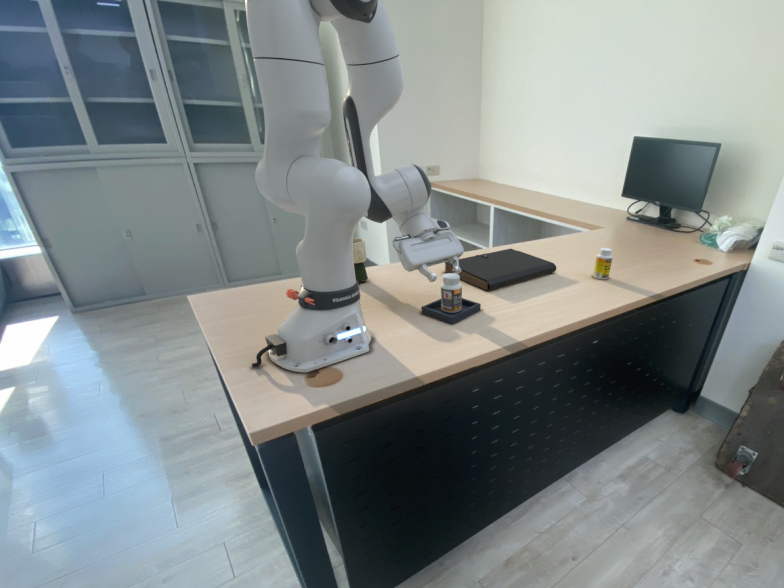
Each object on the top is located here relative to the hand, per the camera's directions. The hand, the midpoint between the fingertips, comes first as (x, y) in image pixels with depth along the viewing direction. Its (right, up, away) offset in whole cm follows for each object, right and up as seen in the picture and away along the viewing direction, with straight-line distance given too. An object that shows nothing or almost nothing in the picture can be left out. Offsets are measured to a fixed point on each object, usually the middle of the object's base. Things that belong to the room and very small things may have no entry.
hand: (446, 276), depth 110 cm
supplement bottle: (+51, +9, +38) cm, 64 cm away
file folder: (+15, +10, +36) cm, 41 cm away
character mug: (-32, +4, +22) cm, 39 cm away
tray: (+1, -9, +5) cm, 10 cm away
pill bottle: (+1, -9, +5) cm, 10 cm away
